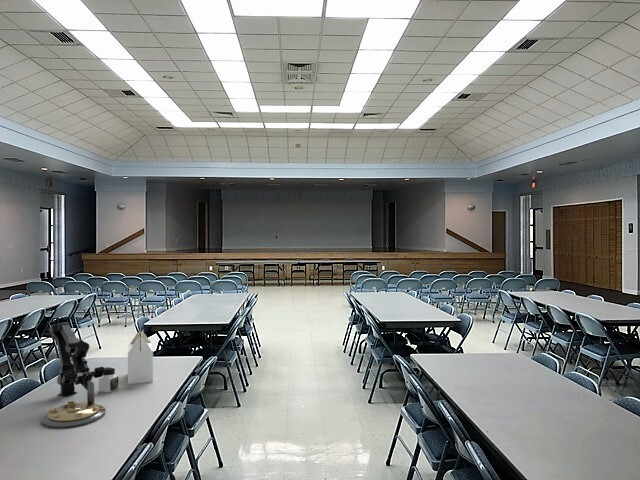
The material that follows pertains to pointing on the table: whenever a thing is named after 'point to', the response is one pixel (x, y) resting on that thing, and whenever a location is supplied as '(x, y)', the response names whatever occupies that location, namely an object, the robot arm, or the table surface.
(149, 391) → the table surface
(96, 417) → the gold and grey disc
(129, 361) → the gable box
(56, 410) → the gold wheel with handle
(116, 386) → the medicine bottle
